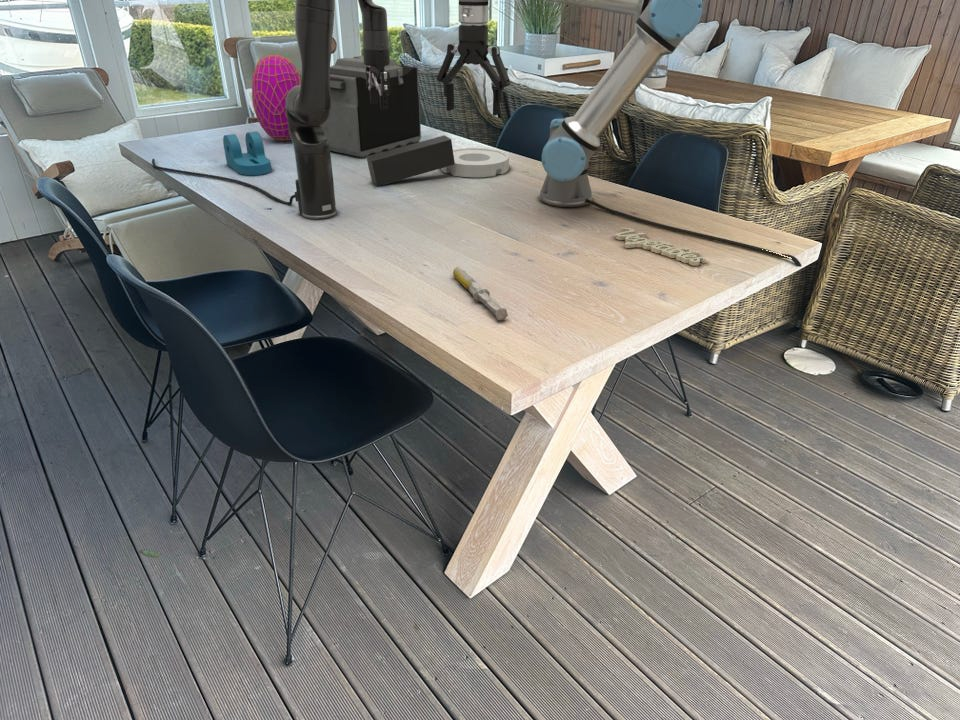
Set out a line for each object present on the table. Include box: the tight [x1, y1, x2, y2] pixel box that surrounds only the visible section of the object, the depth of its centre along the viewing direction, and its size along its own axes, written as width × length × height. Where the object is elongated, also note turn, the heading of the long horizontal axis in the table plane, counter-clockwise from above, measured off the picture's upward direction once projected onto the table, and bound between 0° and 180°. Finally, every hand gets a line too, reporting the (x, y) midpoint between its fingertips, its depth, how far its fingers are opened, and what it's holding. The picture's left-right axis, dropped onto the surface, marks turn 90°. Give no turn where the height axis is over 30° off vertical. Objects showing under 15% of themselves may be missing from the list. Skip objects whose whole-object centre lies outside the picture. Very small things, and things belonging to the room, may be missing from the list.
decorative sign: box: [615, 227, 707, 267], centre depth 169 cm, size 26×1×10 cm
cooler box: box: [322, 55, 422, 159], centre depth 250 cm, size 37×22×30 cm, turn 144°
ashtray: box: [440, 147, 510, 178], centre depth 231 cm, size 23×23×4 cm
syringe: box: [452, 266, 509, 321], centre depth 145 cm, size 25×4×3 cm, turn 21°
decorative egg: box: [251, 54, 301, 142], centre depth 257 cm, size 19×19×30 cm
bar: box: [365, 134, 455, 187], centre depth 217 cm, size 27×6×8 cm, turn 115°
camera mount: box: [222, 131, 272, 176], centre depth 226 cm, size 18×10×10 cm, turn 35°
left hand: (379, 106), depth 205 cm, fingers open, 8 cm apart
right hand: (472, 112), depth 183 cm, fingers open, 13 cm apart
